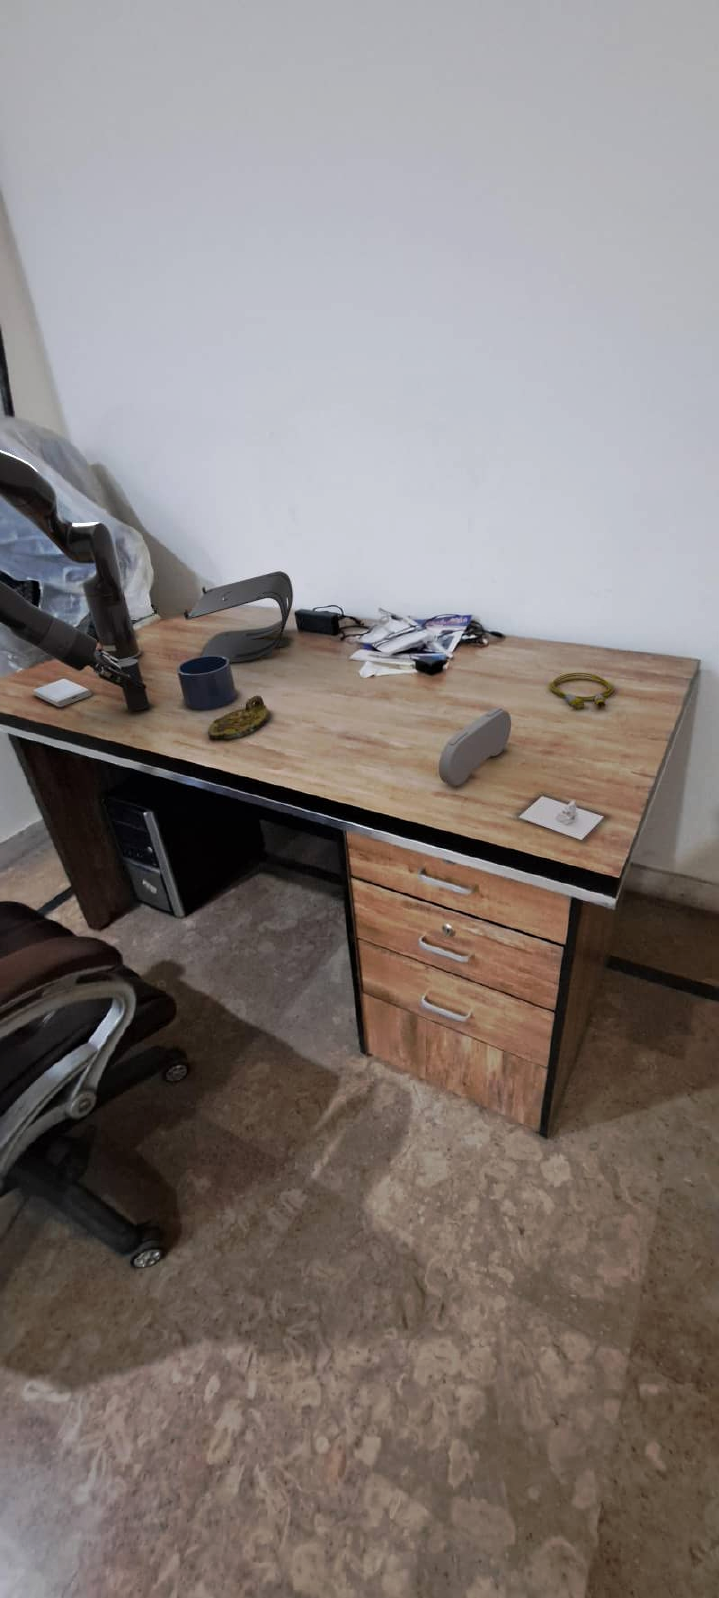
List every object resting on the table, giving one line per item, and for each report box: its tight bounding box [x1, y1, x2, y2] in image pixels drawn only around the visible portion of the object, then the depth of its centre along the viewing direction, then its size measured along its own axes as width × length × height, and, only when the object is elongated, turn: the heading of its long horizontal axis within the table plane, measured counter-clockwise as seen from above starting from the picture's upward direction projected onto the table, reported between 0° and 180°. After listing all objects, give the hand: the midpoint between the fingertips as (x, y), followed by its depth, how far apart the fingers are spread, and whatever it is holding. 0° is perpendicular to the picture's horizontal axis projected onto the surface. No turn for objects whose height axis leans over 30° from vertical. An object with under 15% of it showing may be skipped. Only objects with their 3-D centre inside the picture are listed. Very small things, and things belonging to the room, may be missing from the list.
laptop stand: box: [183, 570, 294, 664], centre depth 172 cm, size 26×24×16 cm
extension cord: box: [550, 672, 613, 710], centre depth 134 cm, size 12×16×2 cm
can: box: [176, 655, 237, 711], centre depth 146 cm, size 11×11×8 cm
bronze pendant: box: [207, 694, 269, 740], centre depth 134 cm, size 9×5×15 cm
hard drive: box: [32, 678, 92, 708], centre depth 157 cm, size 2×8×12 cm
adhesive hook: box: [554, 799, 579, 825], centre depth 98 cm, size 3×3×3 cm
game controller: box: [438, 707, 512, 787], centre depth 112 cm, size 20×2×8 cm, turn 140°
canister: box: [116, 658, 150, 711], centre depth 144 cm, size 5×5×10 cm
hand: (142, 685), depth 145 cm, fingers closed on canister, 4 cm apart
